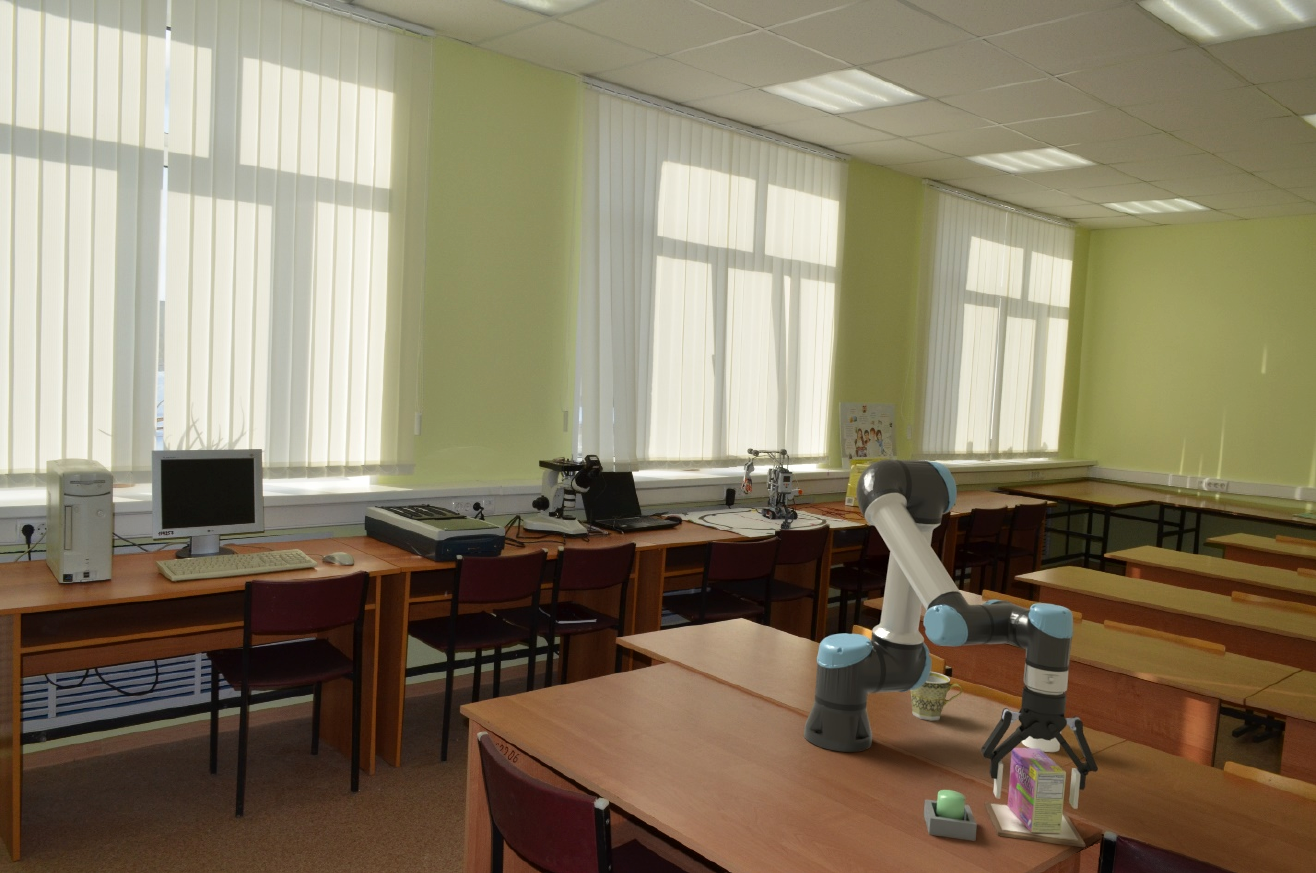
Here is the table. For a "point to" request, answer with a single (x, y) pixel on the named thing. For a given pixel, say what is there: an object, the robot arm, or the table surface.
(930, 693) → the ceramic cup
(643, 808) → the table surface
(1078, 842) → the clipboard
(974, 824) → the button housing
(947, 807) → the button
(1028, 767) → the box
